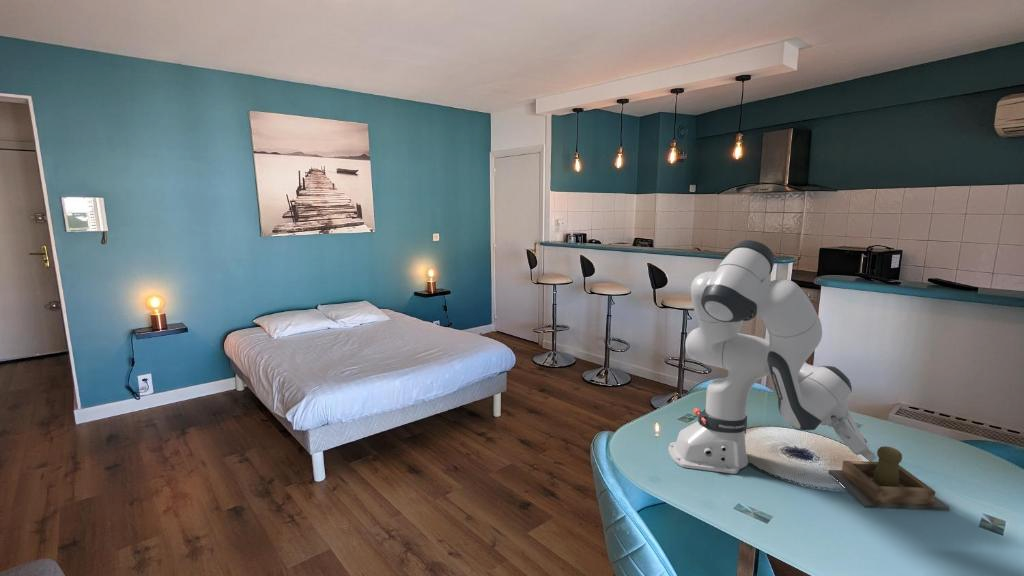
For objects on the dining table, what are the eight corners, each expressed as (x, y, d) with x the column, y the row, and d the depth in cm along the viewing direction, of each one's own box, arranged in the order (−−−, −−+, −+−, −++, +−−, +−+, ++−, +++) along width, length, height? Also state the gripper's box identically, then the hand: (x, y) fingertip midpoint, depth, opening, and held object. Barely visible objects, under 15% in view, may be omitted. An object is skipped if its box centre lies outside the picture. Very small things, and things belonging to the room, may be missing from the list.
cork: (901, 496, 124) (906, 456, 122) (872, 489, 127) (877, 450, 125) (897, 485, 129) (903, 447, 127) (869, 478, 132) (874, 441, 131)
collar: (864, 507, 121) (866, 491, 120) (828, 473, 137) (829, 458, 136) (948, 510, 120) (951, 494, 119) (902, 475, 136) (904, 460, 135)
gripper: (847, 418, 121) (890, 463, 119) (833, 390, 139) (870, 428, 137) (825, 431, 124) (866, 475, 121) (813, 402, 142) (849, 440, 140)
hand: (868, 450), depth 129 cm, fingers open, 8 cm apart
